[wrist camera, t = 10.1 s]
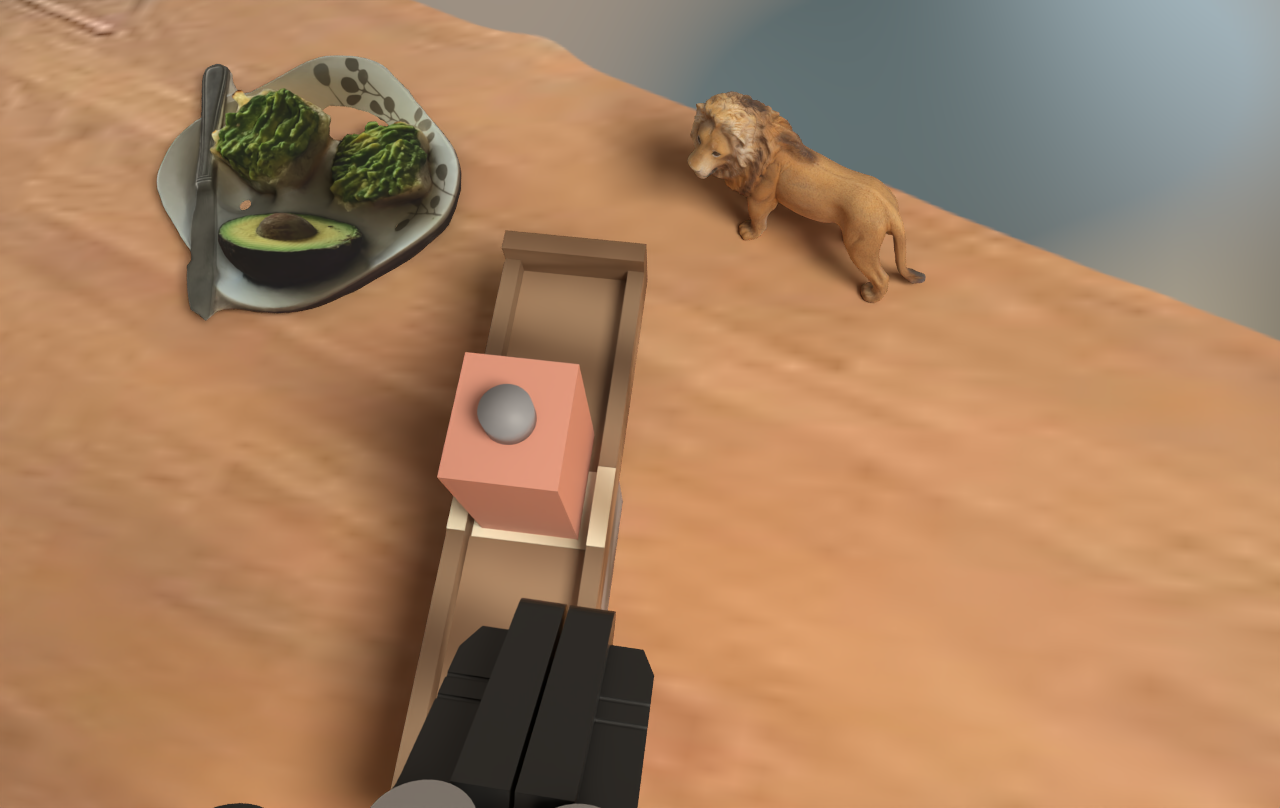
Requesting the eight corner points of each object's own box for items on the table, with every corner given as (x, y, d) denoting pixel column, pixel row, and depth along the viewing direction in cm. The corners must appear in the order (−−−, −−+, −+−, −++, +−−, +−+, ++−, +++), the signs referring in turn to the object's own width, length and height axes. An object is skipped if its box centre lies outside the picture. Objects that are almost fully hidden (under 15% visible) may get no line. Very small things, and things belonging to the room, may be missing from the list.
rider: (578, 539, 37) (553, 483, 28) (481, 527, 37) (430, 469, 29) (594, 434, 39) (576, 353, 30) (502, 424, 39) (459, 340, 31)
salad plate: (108, 144, 53) (60, 92, 49) (355, 21, 56) (330, -38, 52) (231, 369, 47) (188, 333, 43) (500, 216, 50) (485, 168, 46)
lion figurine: (670, 232, 49) (673, 130, 41) (705, 165, 51) (713, 54, 43) (908, 320, 47) (962, 231, 38) (936, 246, 48) (993, 145, 40)
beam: (571, 867, 37) (551, 899, 30) (420, 845, 37) (365, 871, 30) (648, 316, 47) (646, 243, 40) (528, 303, 48) (505, 230, 41)
